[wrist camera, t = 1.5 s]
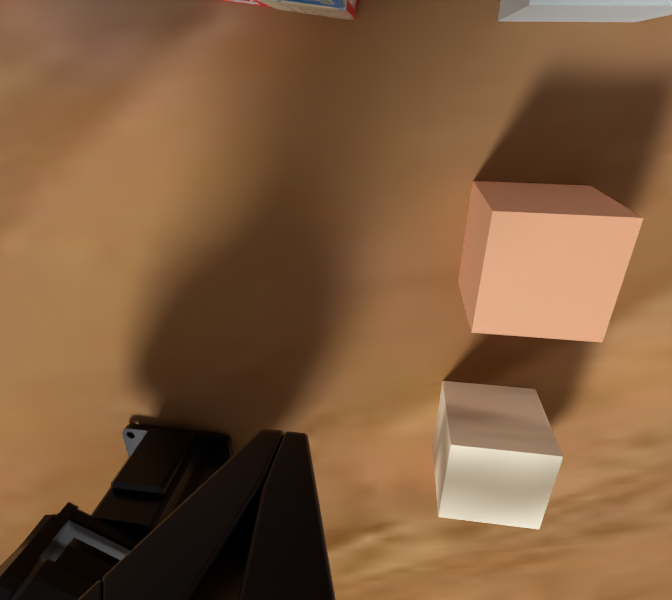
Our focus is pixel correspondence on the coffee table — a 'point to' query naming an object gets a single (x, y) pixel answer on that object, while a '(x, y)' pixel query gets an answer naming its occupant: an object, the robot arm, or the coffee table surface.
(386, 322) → the coffee table surface
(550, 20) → the blue grey block
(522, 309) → the terracotta block
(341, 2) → the stack of blocks
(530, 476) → the cream block
